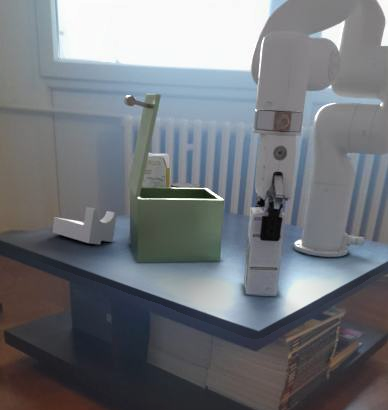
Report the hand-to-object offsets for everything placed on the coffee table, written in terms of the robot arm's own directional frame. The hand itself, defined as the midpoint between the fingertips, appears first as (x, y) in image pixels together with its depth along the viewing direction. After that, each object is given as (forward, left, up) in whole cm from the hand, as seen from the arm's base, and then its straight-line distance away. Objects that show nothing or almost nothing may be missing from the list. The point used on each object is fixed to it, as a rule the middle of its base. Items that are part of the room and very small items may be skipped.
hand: (265, 233), depth 87 cm
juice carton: (+22, -39, -11) cm, 46 cm away
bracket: (+37, -32, -11) cm, 50 cm away
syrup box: (0, 0, -11) cm, 11 cm away
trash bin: (+16, -23, -10) cm, 30 cm away
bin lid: (+22, -22, +12) cm, 33 cm away
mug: (+14, -53, -11) cm, 56 cm away
